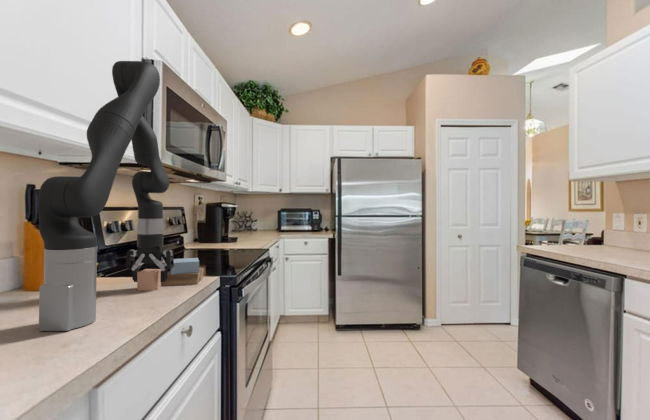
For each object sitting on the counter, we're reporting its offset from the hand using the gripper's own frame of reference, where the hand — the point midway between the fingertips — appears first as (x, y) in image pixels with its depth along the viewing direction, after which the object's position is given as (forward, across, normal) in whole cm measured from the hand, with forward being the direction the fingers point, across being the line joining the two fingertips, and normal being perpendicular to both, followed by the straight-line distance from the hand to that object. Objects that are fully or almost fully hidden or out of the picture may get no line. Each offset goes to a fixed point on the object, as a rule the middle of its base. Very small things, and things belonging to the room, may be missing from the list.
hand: (150, 281), depth 101 cm
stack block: (+2, 0, 0) cm, 2 cm away
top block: (-1, +7, +11) cm, 13 cm away
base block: (+3, +7, +11) cm, 13 cm away
